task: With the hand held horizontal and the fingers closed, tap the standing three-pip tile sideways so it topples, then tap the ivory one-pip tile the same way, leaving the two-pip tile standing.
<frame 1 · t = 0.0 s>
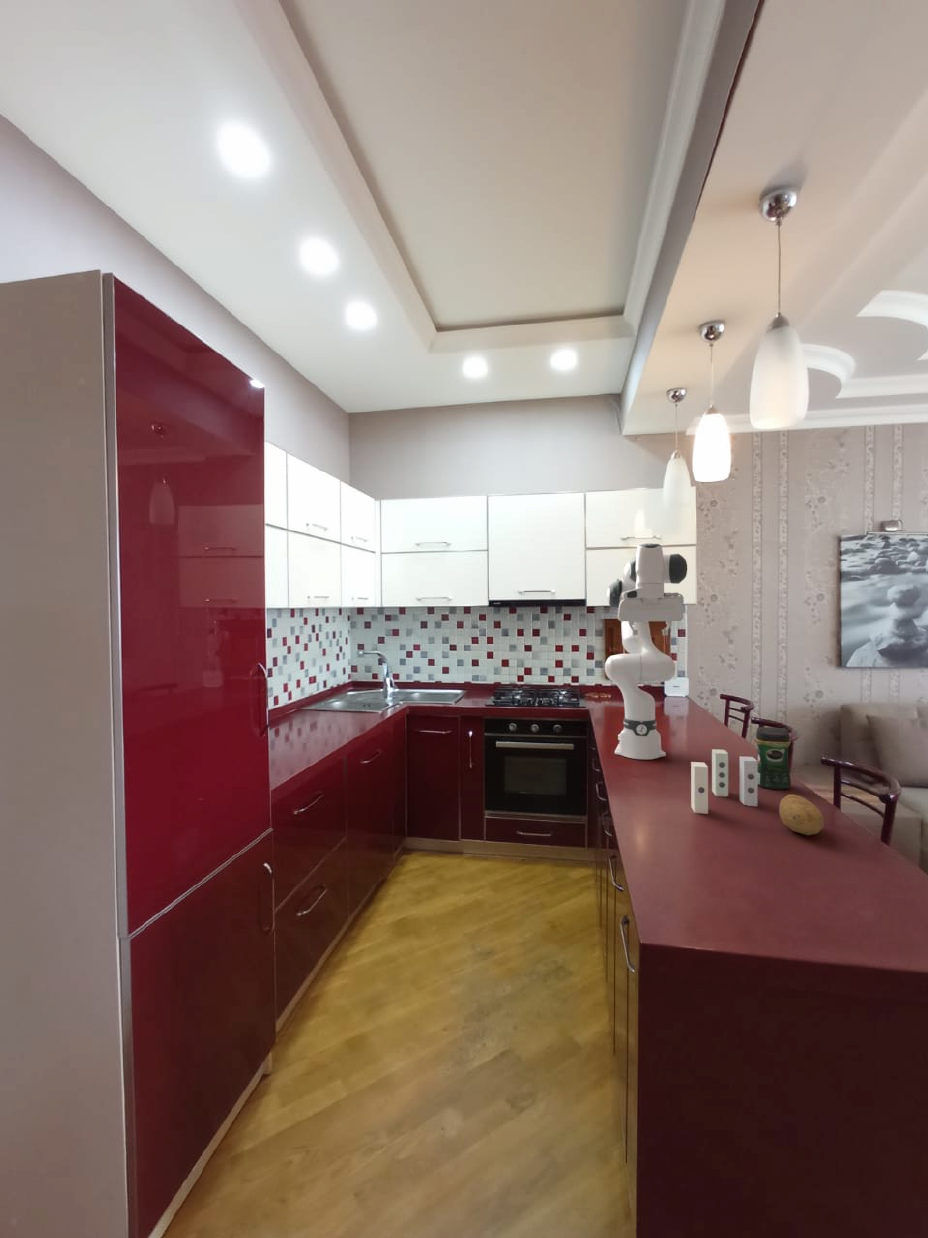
hand: (650, 635, 178), 48 cm above the countertop, tool pointing down, fingers open, 8 cm apart
one-pip tile: (699, 810, 154), on the countertop
coffee jar: (772, 786, 173), on the countertop
two-pip tile: (748, 803, 158), on the countertop
three-pip tile: (719, 793, 167), on the countertop
potato: (801, 832, 138), on the countertop
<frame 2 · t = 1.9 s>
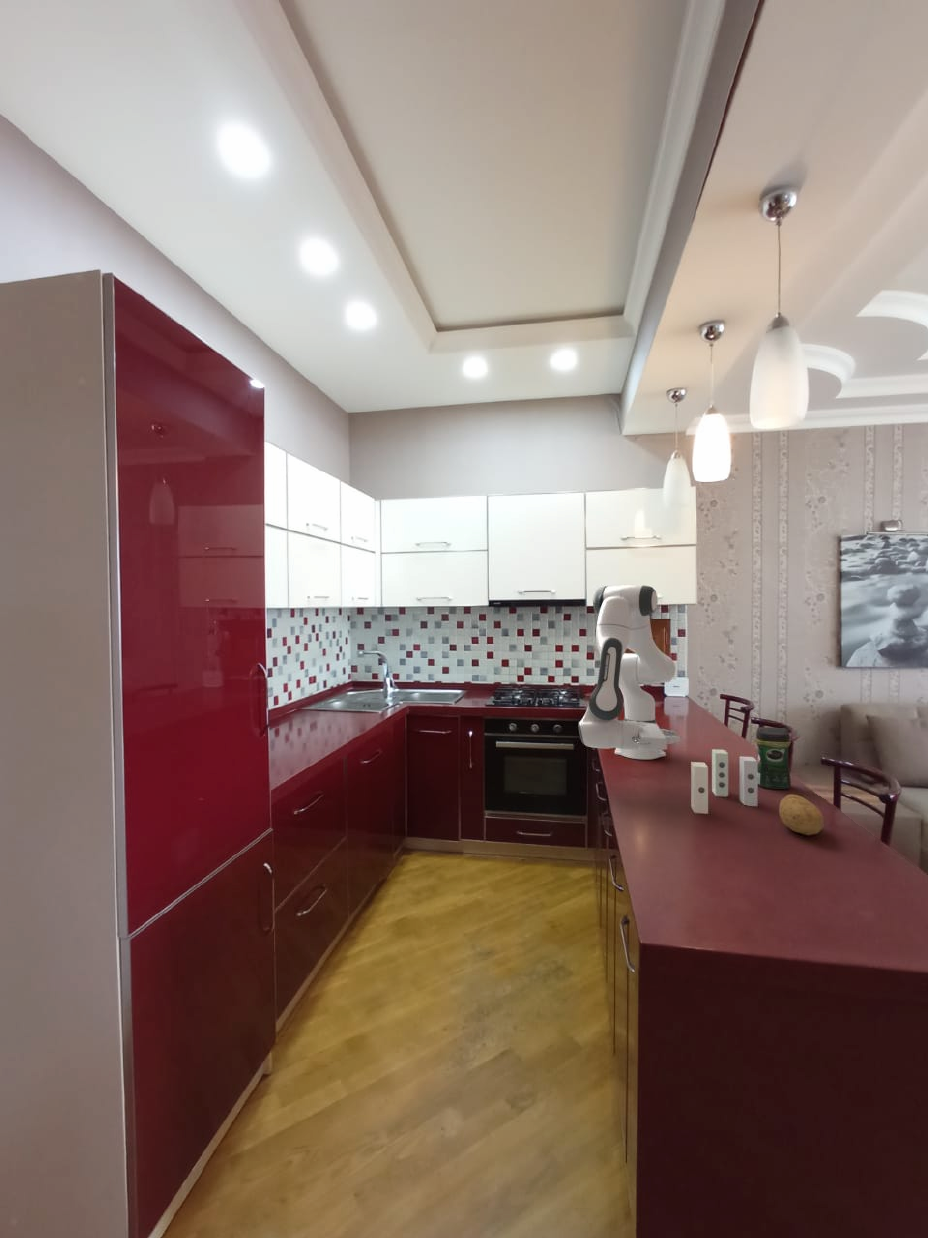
hand: (677, 736, 168), 17 cm above the countertop, tool horizontal, fingers open, 5 cm apart
nothing on the countertop moved.
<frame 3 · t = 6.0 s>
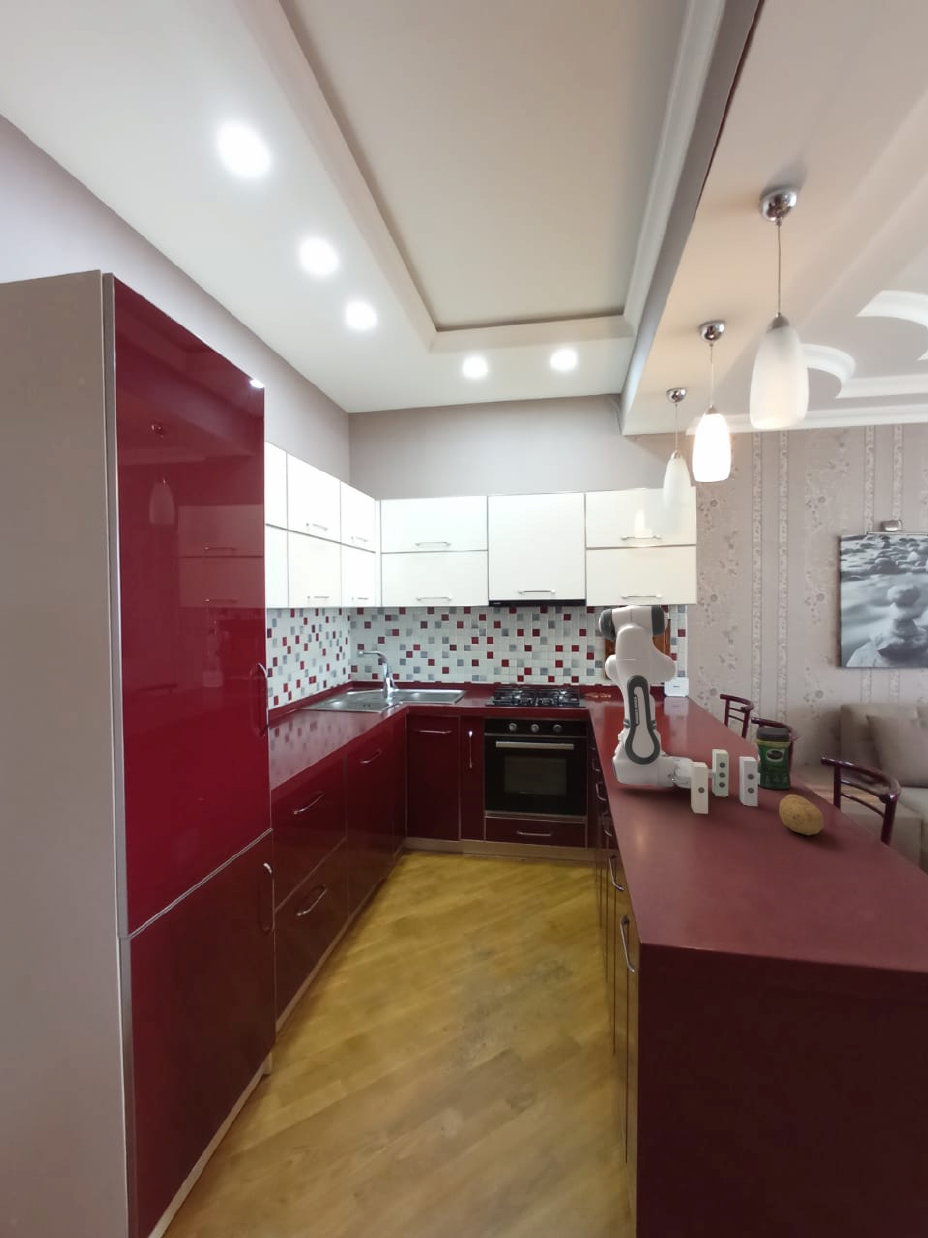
hand: (714, 773, 167), 6 cm above the countertop, tool horizontal, fingers closed, pressing on three-pip tile
three-pip tile: (719, 793, 167), on the countertop, touching gripper
everything else where it was.
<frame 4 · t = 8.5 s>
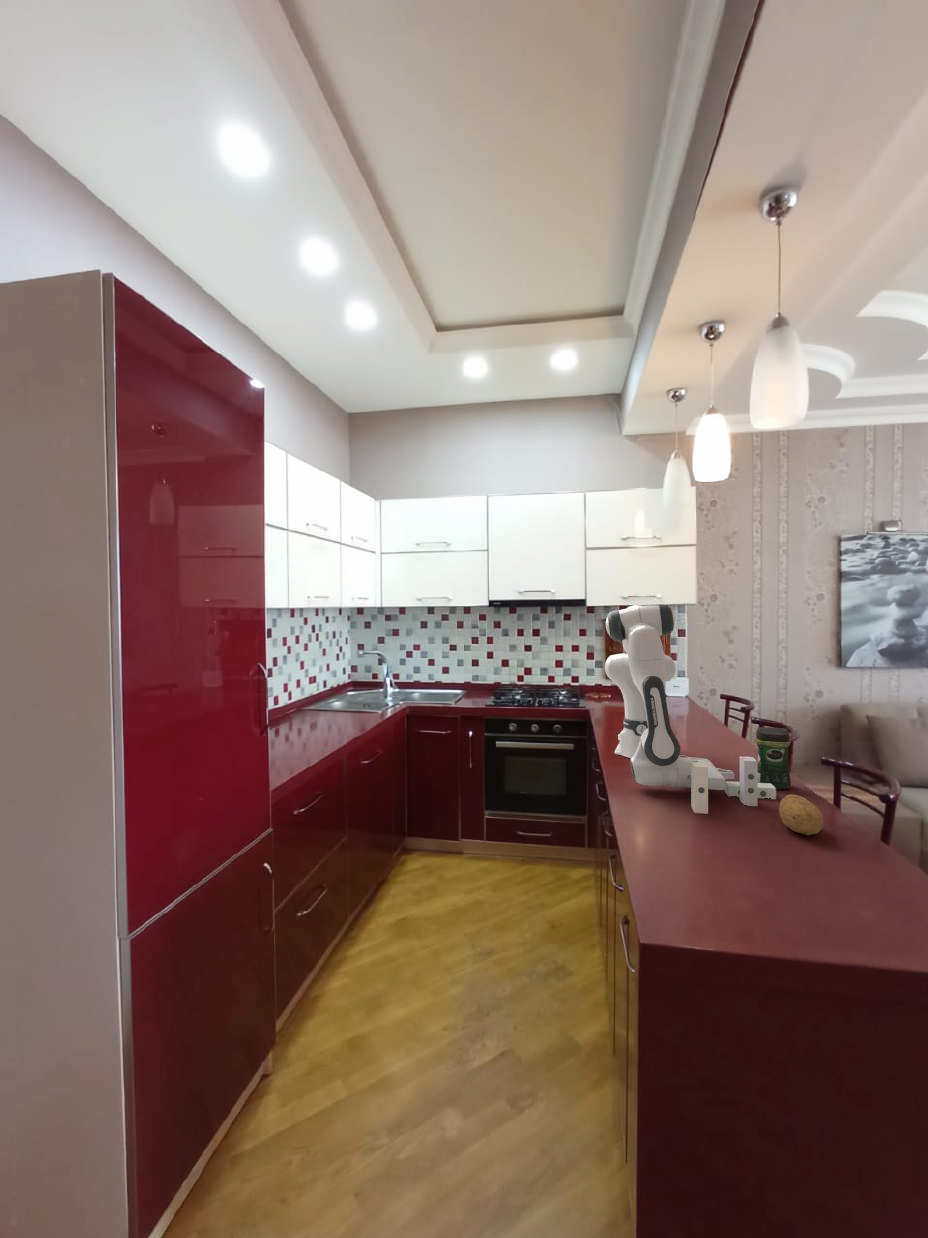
hand: (733, 774, 166), 6 cm above the countertop, tool horizontal, fingers closed
three-pip tile: (726, 789, 166), point 1 cm above the countertop, tilted 90°
everything else where it was.
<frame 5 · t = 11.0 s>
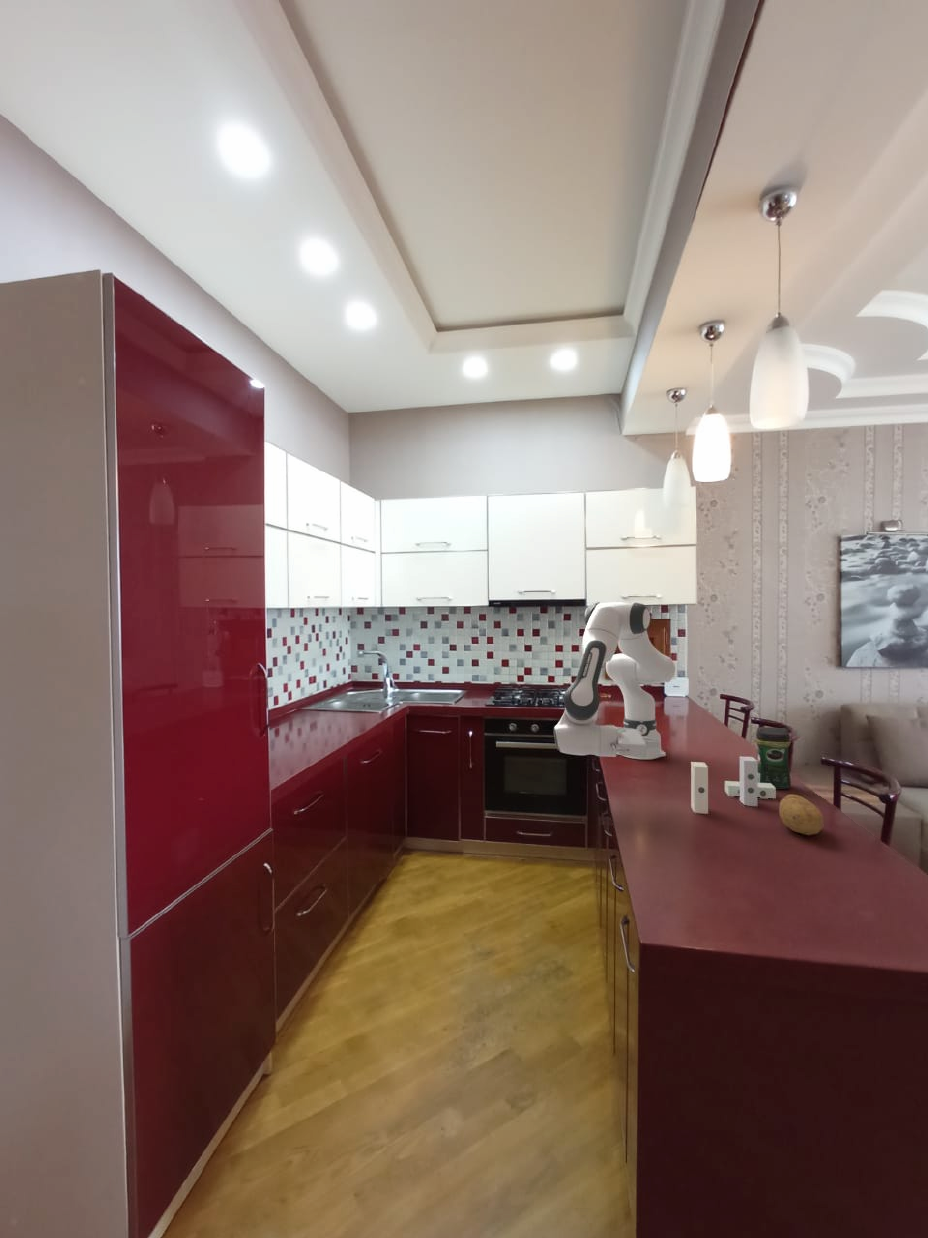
hand: (659, 743, 157), 18 cm above the countertop, tool horizontal, fingers closed
nothing on the countertop moved.
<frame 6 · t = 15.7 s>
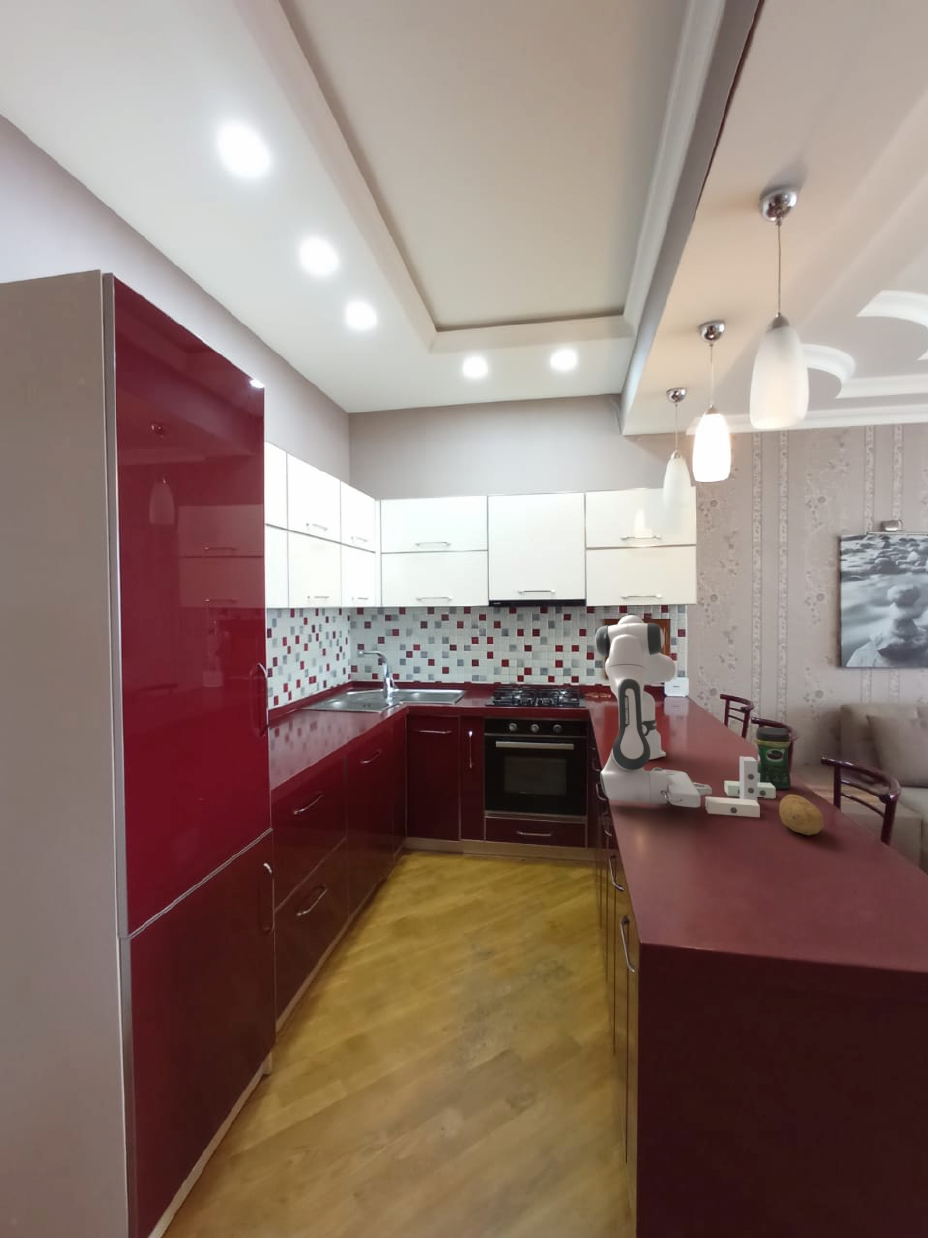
hand: (710, 789, 153), 6 cm above the countertop, tool horizontal, fingers closed
one-pip tile: (706, 805, 154), point 1 cm above the countertop, tilted 90°
everything else where it was.
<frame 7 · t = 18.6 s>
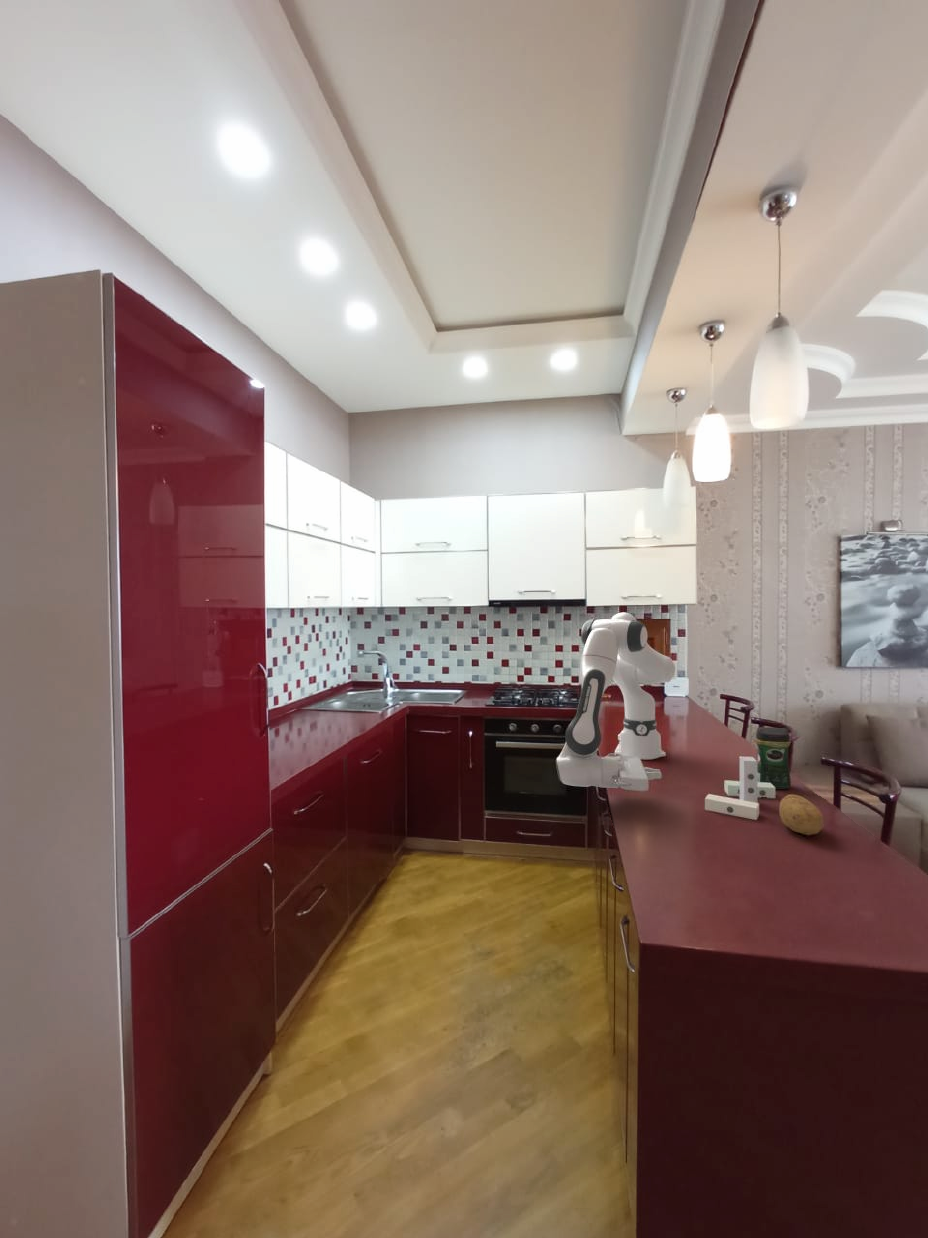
hand: (660, 774, 158), 9 cm above the countertop, tool horizontal, fingers closed
one-pip tile: (706, 802, 156), point 1 cm above the countertop, tilted 90°
everything else where it was.
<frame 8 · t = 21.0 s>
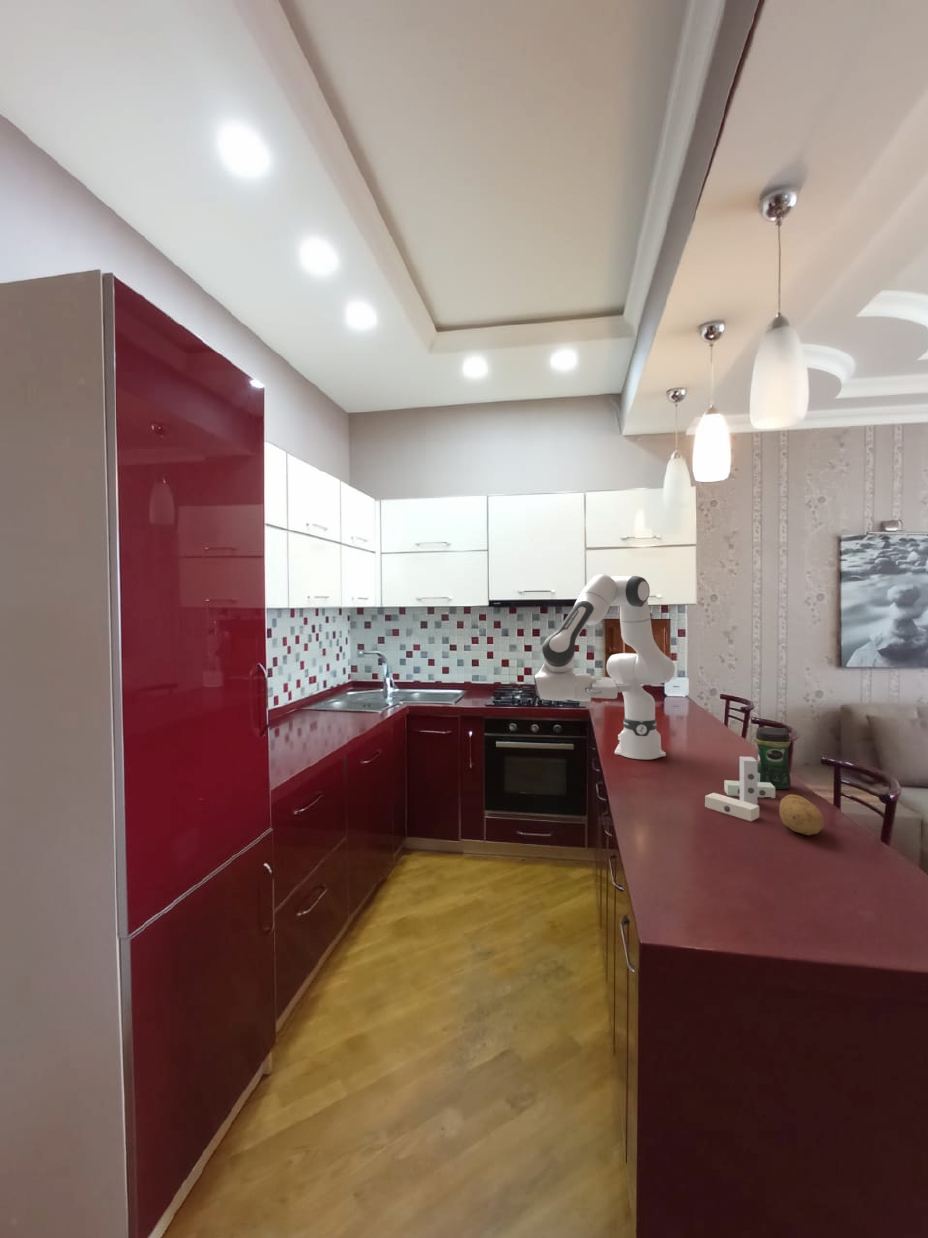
hand: (630, 688, 171), 32 cm above the countertop, tool horizontal, fingers closed
one-pip tile: (709, 800, 157), point 1 cm above the countertop, tilted 90°
everything else where it was.
at the end: three-pip tile tilted 90°; one-pip tile tilted 90°; two-pip tile tilted 0° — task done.
